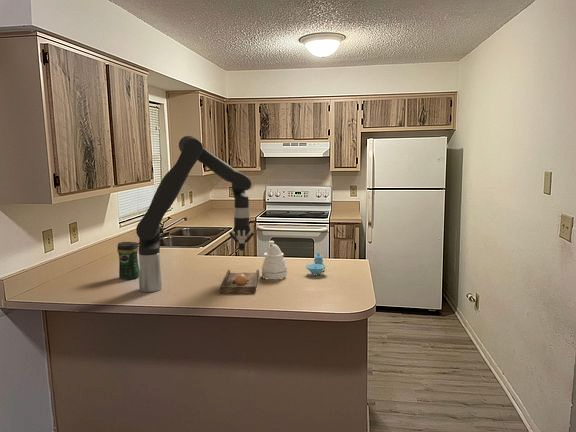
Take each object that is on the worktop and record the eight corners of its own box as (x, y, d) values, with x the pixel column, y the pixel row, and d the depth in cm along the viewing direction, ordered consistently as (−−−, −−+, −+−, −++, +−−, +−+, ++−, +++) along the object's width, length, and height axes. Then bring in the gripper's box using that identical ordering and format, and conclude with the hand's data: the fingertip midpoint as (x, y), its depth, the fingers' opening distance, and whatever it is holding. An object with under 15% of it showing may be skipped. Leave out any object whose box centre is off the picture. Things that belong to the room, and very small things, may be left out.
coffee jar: (142, 275, 227) (140, 240, 224) (134, 280, 219) (131, 243, 216) (125, 274, 229) (123, 240, 226) (116, 279, 221) (114, 243, 218)
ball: (234, 273, 209) (235, 285, 210) (234, 275, 203) (235, 288, 204) (247, 272, 210) (247, 284, 210) (247, 274, 204) (247, 287, 205)
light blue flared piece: (324, 278, 220) (324, 260, 218) (303, 277, 222) (303, 259, 221) (329, 268, 237) (329, 252, 236) (310, 267, 239) (310, 251, 238)
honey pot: (256, 276, 223) (256, 242, 220) (274, 271, 232) (274, 238, 230) (274, 281, 214) (274, 245, 212) (292, 276, 224) (292, 241, 221)
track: (220, 293, 197) (220, 286, 197) (228, 275, 225) (227, 270, 225) (255, 292, 198) (255, 286, 197) (259, 275, 225) (259, 269, 225)
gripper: (227, 217, 214) (227, 252, 216) (254, 217, 214) (254, 252, 217) (229, 215, 221) (229, 248, 224) (255, 215, 221) (255, 248, 224)
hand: (241, 250), depth 220 cm, fingers closed
